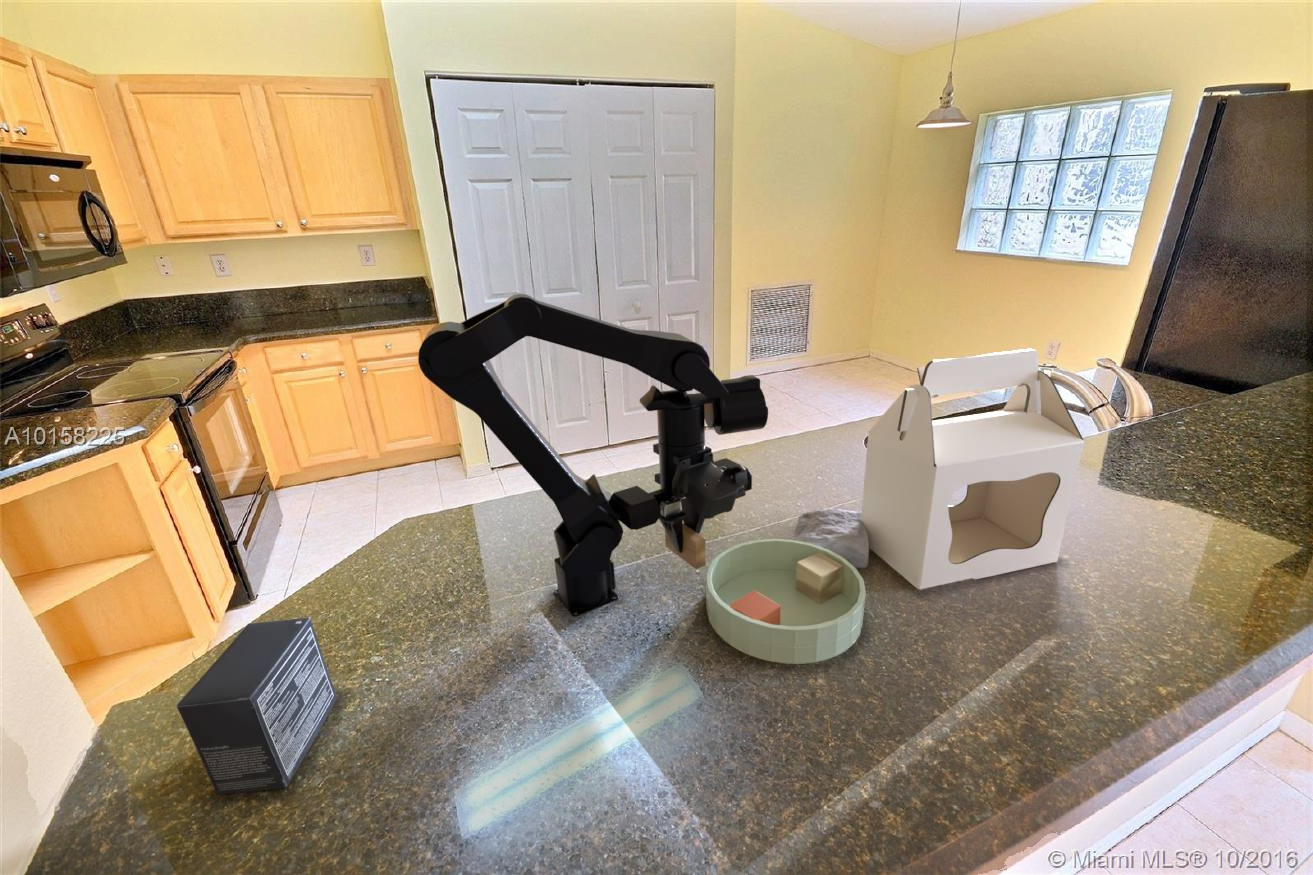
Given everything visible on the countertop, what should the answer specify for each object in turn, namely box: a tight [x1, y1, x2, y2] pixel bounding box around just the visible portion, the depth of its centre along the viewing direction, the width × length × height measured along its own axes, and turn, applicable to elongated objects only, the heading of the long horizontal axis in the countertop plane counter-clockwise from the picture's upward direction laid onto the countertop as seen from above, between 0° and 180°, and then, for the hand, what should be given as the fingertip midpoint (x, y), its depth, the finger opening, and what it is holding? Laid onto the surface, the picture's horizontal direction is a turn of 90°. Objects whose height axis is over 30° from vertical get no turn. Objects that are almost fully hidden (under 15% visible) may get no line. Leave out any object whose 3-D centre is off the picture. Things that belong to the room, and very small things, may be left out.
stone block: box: [793, 508, 870, 569], centre depth 82 cm, size 12×5×10 cm
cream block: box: [796, 552, 844, 605], centre depth 72 cm, size 4×4×4 cm
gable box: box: [861, 348, 1085, 590], centre depth 76 cm, size 22×13×28 cm, turn 105°
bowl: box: [705, 538, 867, 665], centre depth 69 cm, size 18×18×5 cm
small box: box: [176, 616, 339, 796], centre depth 53 cm, size 11×6×10 cm, turn 5°
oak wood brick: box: [664, 522, 707, 570], centre depth 76 cm, size 2×7×4 cm, turn 33°
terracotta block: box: [730, 590, 781, 625], centre depth 65 cm, size 4×4×4 cm
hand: (684, 549), depth 76 cm, fingers closed on oak wood brick, 1 cm apart
